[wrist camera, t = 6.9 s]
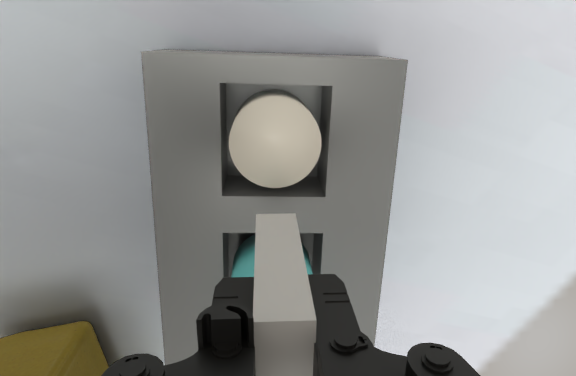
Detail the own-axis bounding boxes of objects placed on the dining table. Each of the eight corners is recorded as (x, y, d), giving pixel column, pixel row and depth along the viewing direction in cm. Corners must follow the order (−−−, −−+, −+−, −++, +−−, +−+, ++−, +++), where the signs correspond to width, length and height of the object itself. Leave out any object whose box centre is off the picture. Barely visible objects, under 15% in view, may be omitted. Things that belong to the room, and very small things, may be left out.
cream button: (233, 169, 24) (229, 187, 21) (232, 88, 22) (227, 96, 19) (311, 170, 24) (318, 188, 21) (315, 90, 23) (323, 98, 20)
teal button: (233, 299, 25) (229, 334, 22) (232, 230, 24) (227, 258, 20) (308, 298, 25) (314, 333, 22) (311, 230, 24) (319, 258, 21)
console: (184, 382, 31) (171, 443, 26) (165, 49, 24) (141, 51, 19) (348, 379, 32) (363, 438, 27) (379, 56, 24) (408, 59, 20)
